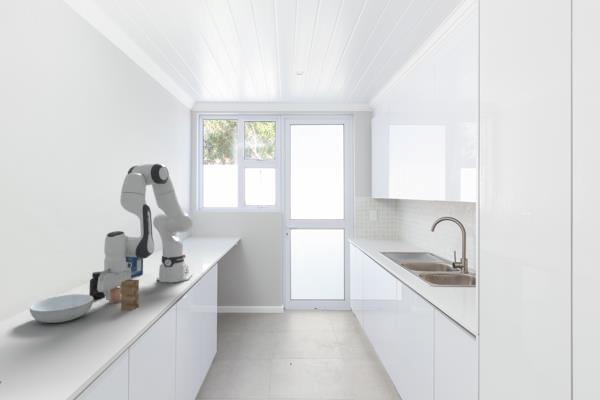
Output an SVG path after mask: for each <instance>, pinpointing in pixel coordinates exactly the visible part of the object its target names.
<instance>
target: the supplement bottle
mask: <svg viewBox="0 0 600 400" xmlns="http://www.w3.org/2000/svg"><path fill="white" fill-rule="evenodd" d="M101 273H102V271H94V272H92V275H91V278H90V279H89V294H88V295H90V296H92V297H93V298H94V299H93V300H100V299H103V298H106V296H105V295H104V292H98V290H97V286H98V278H99V276H100V274H101Z"/></svg>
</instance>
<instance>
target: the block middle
mask: <svg viewBox="0 0 600 400" xmlns="http://www.w3.org/2000/svg"><path fill="white" fill-rule="evenodd" d="M139 292H140V289H137V290H135V291H133V292H123V291H121V301H133V300H135V299H137V298H140V297H139V296H140V295H139V294H140V293H139ZM121 301H120V302H121Z"/></svg>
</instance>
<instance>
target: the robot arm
mask: <svg viewBox="0 0 600 400" xmlns="http://www.w3.org/2000/svg"><path fill="white" fill-rule="evenodd" d="M123 180H124V181H123V183H122V186H121V192H120V205H121V207H122V209H124V210H125V211H127V212H128V213H131V214H133V215H135V216H137V218H138V219H139V223H140V225H139V226H140V236H139V237H138V236H129V235H126V234H125V232H124V231H122V230H121V231H120V230H119V231H118V230H116V231H111V232H108V233H107V234H106V236H105V239H104V250H103V251H104V263H103V265H104V267H103V270H102V271H101V272H102V273H101V274H100V276H99V278H98V286H97V290H98V292H104V295H105V300H106V301H110V299H111V295H110V290H111V289H114V288H116V287H120V288H121V282H123V281H125V280H128V279H131V280H132V278H131V267H132V263H129V262H126V258H125V257H138V258H143V259H147V258H149V257H150V256H151V255H152V254H154V251H155V243H154V238H153V227H154V228H155V229H156V230H157V232H158V234H159V236H160V238H161V244H162V255H161V264H160V265H159V270H158V277H156V280H157V281H159V282H161V283H179V282H185V281H189V280H190V279H191V278H192V277H193V275H194V274H193V273H192V272H189V271H190V267H189V265H188V264H187V263H186V262H185V258H186V254H183V253H184V252H183V250H184V248H183V246H184V244H183V240H182V239H181V238H179V236H178V234H177V233H180V234H181V233H182V234H183V233H187V232H189V231H191V230H192V229H193V225H194V221H193V218H192V216H190V215H189V214H188V213H187V212H186V211H185V210H184V208H182V206H181V204H180V203H179V200H178V197H177V194H176V191H175V187H174V184H173V182H172V179H171V177H170V175H169V170H168V168H167V166H165V165H164V164H162V163H145V164H141V165H134V166H131V167H130V168H129V169H128V171H127V174H126V175H125V176H124V179H123ZM147 186H151V187H152V192H153V195H154V198H155V202H156V205H157V207H158V208H159V209H160V210H161V211H162V213H158V214H156V215H155V216H154V217H153V221H152V212H151V208H150V206H149V205H148V204H147V202H146V193H147V188H146V187H147Z"/></svg>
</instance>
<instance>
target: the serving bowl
mask: <svg viewBox="0 0 600 400" xmlns="http://www.w3.org/2000/svg"><path fill="white" fill-rule="evenodd" d="M94 300H95V299H94V298H93V297H92V296H90V295H89V294H84V293H82V294H81V293H79V294H78V293H76V294H75V293H73V294H65V295H58V296H57V295H56V296H52V297H48V298H44V299H41V300H38V301H36V302H34V303H32V304H31V305H29V312H30V313H29V314H30V315H31V317H32V318H33V319H34V320H36V321H38V322H41V323H48V324H56V323H57V324H59V323H65V322H70V321H72V320H75V319H77V318H80V317H82V316H83V315H85V314H86V313H88V311H90V310H91V308H92V307H93V303H94Z"/></svg>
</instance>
